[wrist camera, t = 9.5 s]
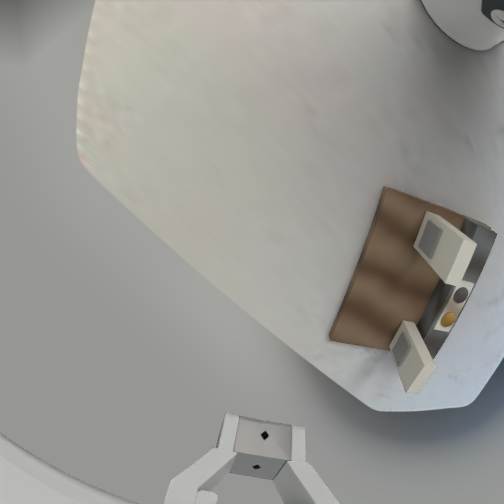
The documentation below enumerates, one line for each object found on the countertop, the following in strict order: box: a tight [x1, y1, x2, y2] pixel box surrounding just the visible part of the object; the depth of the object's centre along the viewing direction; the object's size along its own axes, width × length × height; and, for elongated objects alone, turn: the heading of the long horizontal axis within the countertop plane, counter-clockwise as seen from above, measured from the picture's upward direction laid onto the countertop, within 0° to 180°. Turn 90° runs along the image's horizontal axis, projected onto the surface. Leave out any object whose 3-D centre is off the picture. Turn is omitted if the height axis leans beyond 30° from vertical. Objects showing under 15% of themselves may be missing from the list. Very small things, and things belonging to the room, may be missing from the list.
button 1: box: [389, 320, 436, 394], centre depth 38 cm, size 5×2×10 cm, turn 168°
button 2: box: [413, 211, 477, 287], centre depth 31 cm, size 5×2×10 cm, turn 168°
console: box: [329, 186, 497, 359], centre depth 38 cm, size 23×18×6 cm
